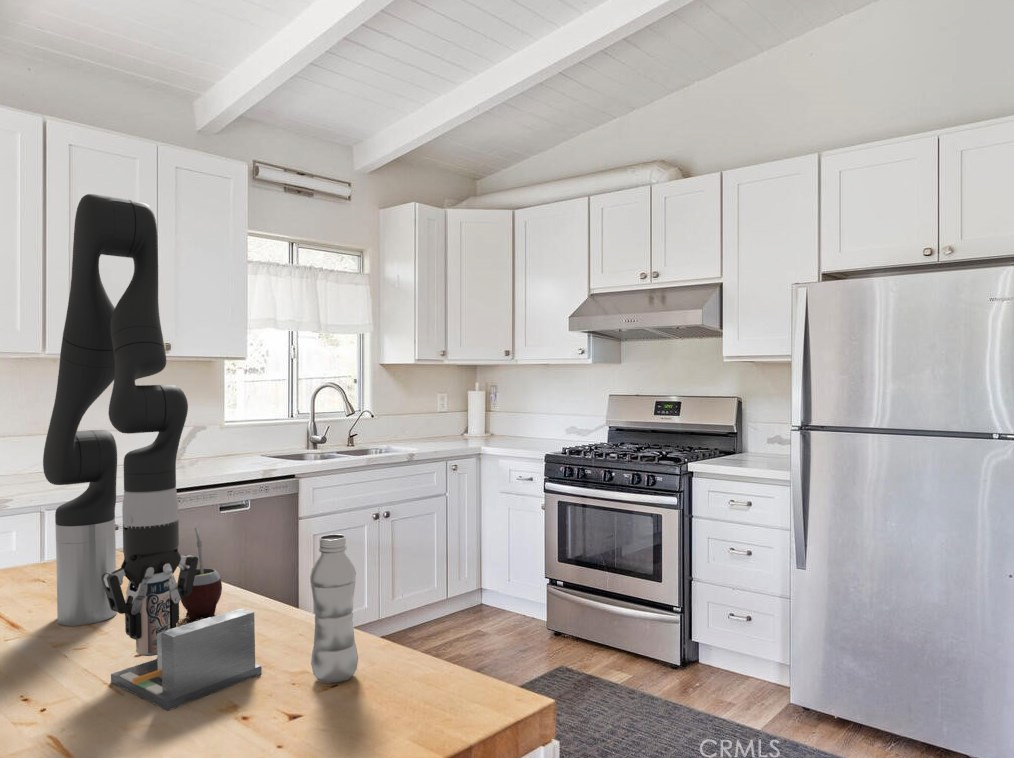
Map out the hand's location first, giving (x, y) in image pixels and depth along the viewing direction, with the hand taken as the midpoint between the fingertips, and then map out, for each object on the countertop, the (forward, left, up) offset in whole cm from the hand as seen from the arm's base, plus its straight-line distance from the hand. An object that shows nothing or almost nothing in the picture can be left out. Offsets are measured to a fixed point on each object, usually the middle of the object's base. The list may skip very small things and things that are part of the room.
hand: (152, 632), depth 111 cm
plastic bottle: (+27, +12, -5) cm, 30 cm away
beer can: (0, 0, -3) cm, 3 cm away
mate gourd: (-14, +16, -5) cm, 22 cm away
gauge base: (+9, 0, -5) cm, 10 cm away
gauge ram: (+9, -2, -3) cm, 10 cm away
